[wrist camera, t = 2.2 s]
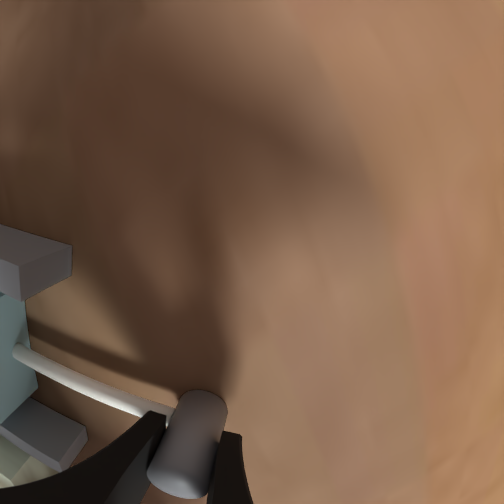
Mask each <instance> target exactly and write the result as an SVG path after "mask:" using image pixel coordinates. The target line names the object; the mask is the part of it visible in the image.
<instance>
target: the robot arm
mask: <svg viewBox="0 0 504 504" xmlns="http://www.w3.org/2000/svg"><path fill="white" fill-rule="evenodd" d="M166 417H167V415H164V414H160V413H157V412H154V411H151V410H150V411H148V412H147V413H146V414H145V415H144V416H143V417H141V418H140V419H139V420H138V421H137V422H136V423H135V424H134V425H133V426H132V427H131V428H129V429H128V430H127V431H126V432H125V433H123V434H122V435H121V436H120V437H118V438H117V439H116V440H114V441H113V442H112V443H110V444H109V445H108V446H106V447H105V448H103V449H102V450H100V451H99V452H97V453H96V454H94V455H93V456H91V457H89V458H88V459H86V460H84V461H82V462H81V463H79V464H77V465H75V466H73V467H71V468H69V469H67V470H64V471H62V472H60V473H57V474H55V475H52V476H50V477H47V478H44V479H40V480H37V481H33V482H30V483H26V484H22V485H18V486H11V487H5V488H0V504H140V502H141V501H142V499H143V497H144V495H145V493H146V491H147V489H148V487H149V485H150V483H151V481H150V480H149V479H148V477H147V470H148V468H149V466H150V463H151V461H152V459H153V457H154V455H155V452H156V450H157V448H158V446H159V444H160V442H161V439H162V437H163V435H164V433H165V431H166ZM207 504H253V501H252V497H251V494H250V491H249V487H248V483H247V478H246V474H245V469H244V462H243V454H242V436H241V435H240V434H236V433H231V432H227V431H222V434H221V438H220V442H219V446H218V450H217V454H216V458H215V462H214V468H213V474H212V478H211V482H210V486H209V490H208V497H207Z"/></svg>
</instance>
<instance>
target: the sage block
mask: <svg viewBox="0 0 504 504" xmlns="http://www.w3.org/2000/svg"><path fill="white" fill-rule="evenodd" d="M57 473H59V472H58V471H56V470H54V469H52V468H51V467H49V466H47V465H45V464H44V463H42V462H40V461H39V460H37V459H36V458H34V457H32V456H31V455H29V454H28V453H26V452H25V451H23V450H22V449H20V448H19V447H17V446H16V445H14V444H13V443H12V442H10V441H9V440H7V439H6V438H5V437H3V436H2V435H0V488H5V487H11V486H18V485H22V484H26V483H30V482H33V481H37V480H40V479H44V478H47V477H50V476H52V475H55V474H57Z"/></svg>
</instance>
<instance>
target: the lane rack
mask: <svg viewBox="0 0 504 504" xmlns="http://www.w3.org/2000/svg"><path fill="white" fill-rule="evenodd" d="M71 272H72V245H68V244H65V243H61V242H58V241H54V240H51V239H47V238H44V237H41V236H37V235H34V234H31V233H27V232H24V231H21V230H17V229H14V228H11V227H8V226H5V225H1V224H0V292H2V293H4V294H6V295H8V296H10V297H12V298H14V299H16V300H18V301H20V302H22V301H24V300H26V299H28V298H30V297H32V296H33V295H35V294H37V293H39V292H41V291H43V290H45V289H46V288H48V287H50V286H52V285H54V284H56V283H58V282H60V281H62V280H64V279H66V278H68V277H70V276H71ZM0 435H2V436H3V437H5V438H6V439H7V440H9V441H10V442H12V443H13V444H14V445H16V446H17V447H19V448H20V449H22V450H23V451H25V452H26V453H28V454H29V455H31V456H32V457H34V458H36V459H37V460H39V461H40V462H42V463H44V464H45V465H47V466H49V467H51V468H52V469H54V470H56V471H58V472H59V473H60V472H62V471H64V470H67V469H68V468H69V467H70V465H71V464H72V462H73V461H74V459H75V458H76V457H77V455H78V454H79V452H80V451H81V449H82V448H83V446H84V445H85V444H86V442H87V441H88V437H87V432H86V427H85V426H83V425H81V424H79V423H77V422H75V421H73V420H71V419H69V418H67V417H65V416H63V415H61V414H59V413H57V412H56V411H54V410H52V409H50V408H48V407H46V406H45V405H43V404H41V403H39V402H38V401H36V400H34V399H32V398H31V397H28V398H27V399H26V400H25V401H24V402H23V403H22V404H21V405H20V406H19V407H18V408H17V409H16V410H15V411H14V412H12V413H11V414H10V415H9V416H8V417H7V418H6V419H5V420H4V421H3V422H2V423H1V424H0Z"/></svg>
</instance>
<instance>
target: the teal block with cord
mask: <svg viewBox="0 0 504 504" xmlns="http://www.w3.org/2000/svg"><path fill="white" fill-rule="evenodd" d="M35 370H36V371H38V372H40V373H41V374H43V375H45V376H47V377H49V378H51V379H53V380H55V381H57V382H59V383H61V384H63V385H65V386H67V387H69V388H71V389H73V390H75V391H78V392H80V393H82V394H84V395H86V396H89V397H91V398H93V399H95V400H98V401H100V402H103V403H105V404H107V405H110V406H112V407H115V408H117V409H120V410H123V411H125V412H128V413H131V414H133V415H136V416H139V417H143V416H144V415H145V414H146V413H147V412H148V411H150V410H151V411H154V412H157V413H160V414H164V415H167V417H166V426H167V429H166V431H165V433H164V435H163V437H162V439H161V442H160V444H159V446H158V448H157V450H156V452H155V455H154V457H153V459H152V461H151V463H150V466H149V468H148V470H147V477H148V479H149V480H150V481H151V483H152V484H153V485H155V486H156V487H157V488H159V489H160V490H162V491H164V492H166V493H168V494H170V495H173V496H176V497H180V498H186V499H196V498H201V497H203V496H205V495H206V494H207V493H208V490H209V486H210V482H211V478H212V474H213V468H214V462H215V458H216V454H217V450H218V446H219V442H220V438H221V434H222V431H223V430H224V426H225V422H226V418H227V413H228V410H227V407H226V405H225V403H224V402H223V400H222V399H221V398H219V397H218V396H216V395H215V394H213V393H211V392H208V391H204V390H192V391H188V392H186V393H185V394H183V395H182V397H181V398H180V400H179V402H178V405H177V407H176V409H175V408H173V407H169V406H166V405H163V404H160V403H157V402H154V401H151V400H148V399H145V398H142V397H139V396H136V395H133V394H130V393H128V392H125V391H122V390H120V389H117V388H114V387H112V386H109V385H107V384H104V383H102V382H99V381H97V380H95V379H92V378H90V377H87V376H85V375H83V374H81V373H78V372H76V371H74V370H72V369H69V368H67V367H65V366H63V365H61V364H59V363H57V362H55V361H53V360H51V359H49V358H47V357H45V356H43V355H41V354H39V353H37V352H35V351H33V350H31V348H30V341H29V335H28V327H27V319H26V310H25V300H24V301H22V302H20V301H18V300H16V299H14V298H12V297H10V296H8V295H6V294H4V293H2V292H0V424H1V423H2V422H3V421H4V420H5V419H6V418H7V417H8V416H9V415H10V414H11V413H12V412H14V411H15V410H16V409H17V408H18V407H19V406H20V405H21V404H22V403H23V402H24V401H25V400H26V399H27V398H28V397H29V396H30V395H31V394H32V393H33V392H34V391H35V390H36V389H37V388H38V383H37V379H36V374H35Z"/></svg>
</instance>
